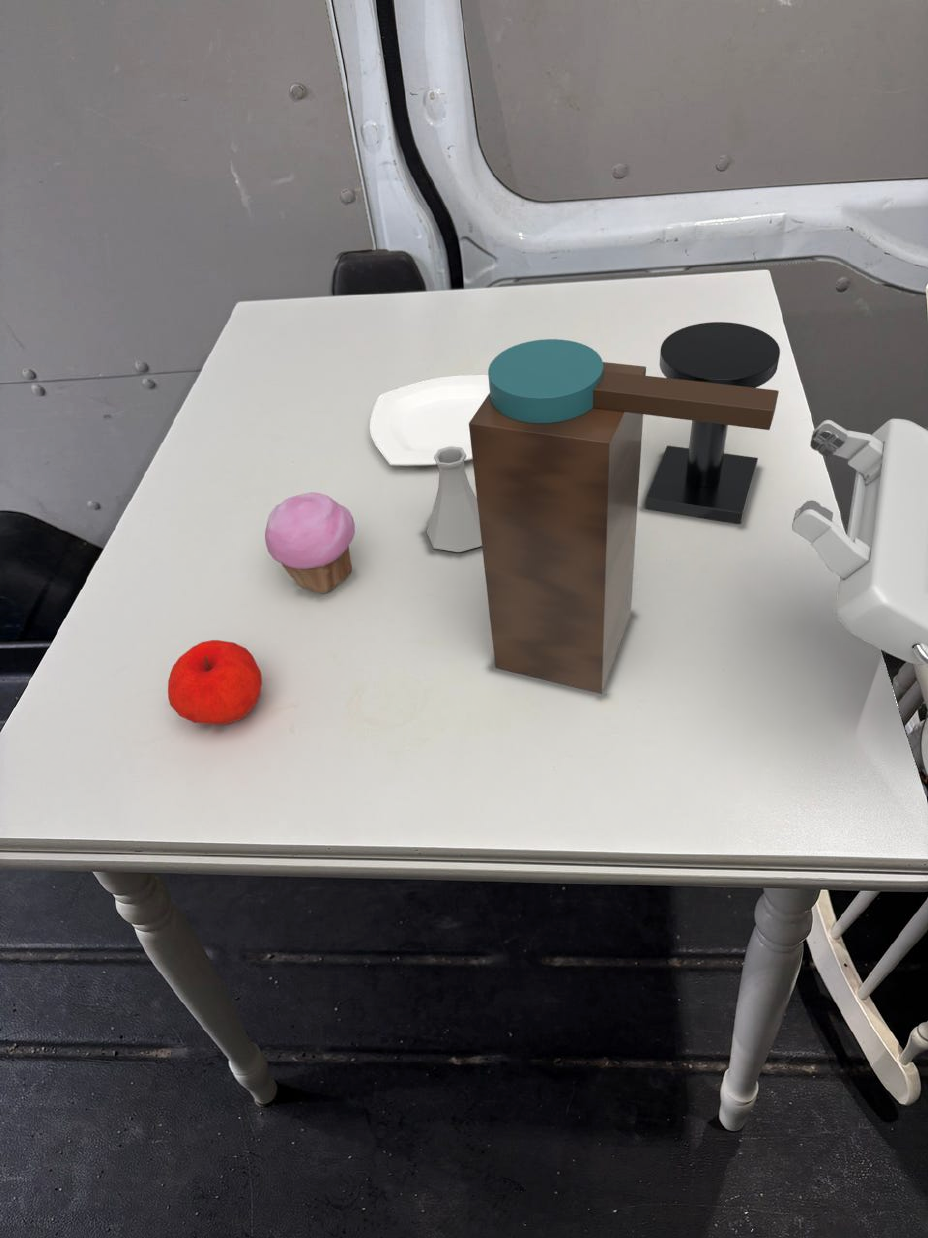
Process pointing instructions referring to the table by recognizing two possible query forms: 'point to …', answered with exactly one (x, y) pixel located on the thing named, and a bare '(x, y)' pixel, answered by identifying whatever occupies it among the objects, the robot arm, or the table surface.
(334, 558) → the cupcake
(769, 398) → the disc paddle
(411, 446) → the plate
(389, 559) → the table surface
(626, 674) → the table surface
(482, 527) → the pedestal
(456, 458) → the flask
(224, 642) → the apple
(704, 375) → the display stand
